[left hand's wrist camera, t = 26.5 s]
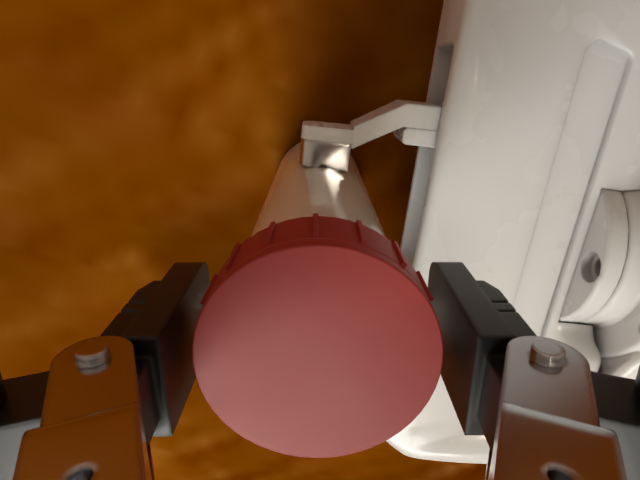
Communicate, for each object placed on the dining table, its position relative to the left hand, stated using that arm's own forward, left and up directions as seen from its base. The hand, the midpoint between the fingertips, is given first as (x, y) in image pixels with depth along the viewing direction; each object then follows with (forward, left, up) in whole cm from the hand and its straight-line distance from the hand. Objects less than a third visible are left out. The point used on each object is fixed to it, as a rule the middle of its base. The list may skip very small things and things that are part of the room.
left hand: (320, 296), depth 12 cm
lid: (0, 0, +3) cm, 3 cm away
